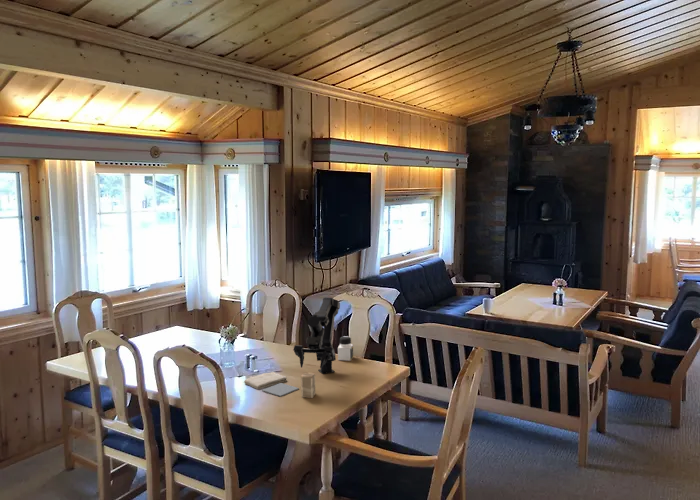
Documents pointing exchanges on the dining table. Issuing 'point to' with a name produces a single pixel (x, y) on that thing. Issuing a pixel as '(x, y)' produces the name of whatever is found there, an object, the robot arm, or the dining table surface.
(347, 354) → the medicine bottle
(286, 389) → the mat
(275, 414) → the dining table surface
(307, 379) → the beige tall block
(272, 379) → the washcloth
